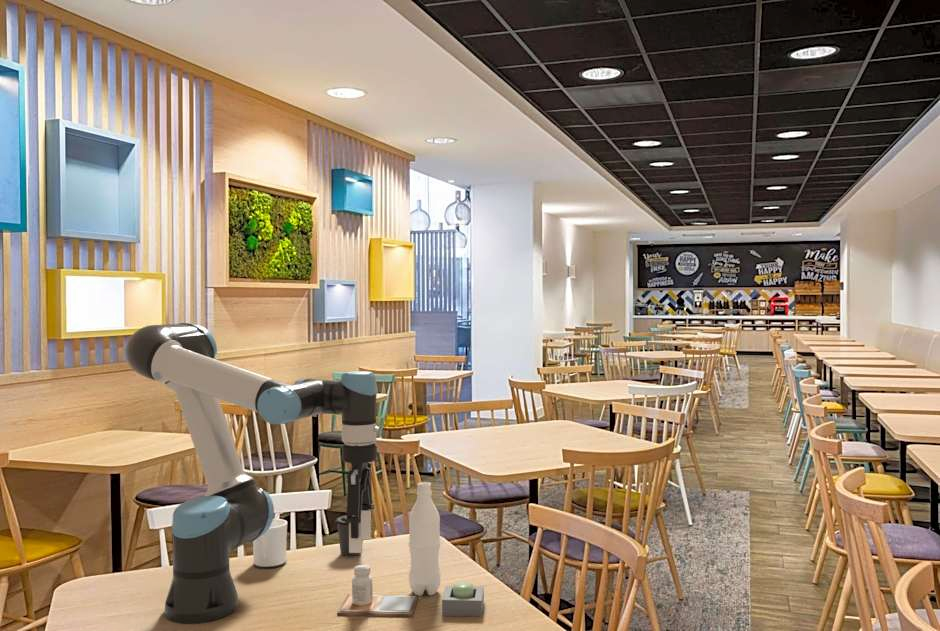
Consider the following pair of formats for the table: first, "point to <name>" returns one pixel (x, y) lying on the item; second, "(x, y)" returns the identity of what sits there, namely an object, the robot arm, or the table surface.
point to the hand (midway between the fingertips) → (360, 545)
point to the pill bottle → (362, 586)
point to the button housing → (463, 603)
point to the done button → (463, 590)
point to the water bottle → (424, 543)
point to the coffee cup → (344, 537)
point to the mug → (271, 546)
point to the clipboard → (381, 606)
